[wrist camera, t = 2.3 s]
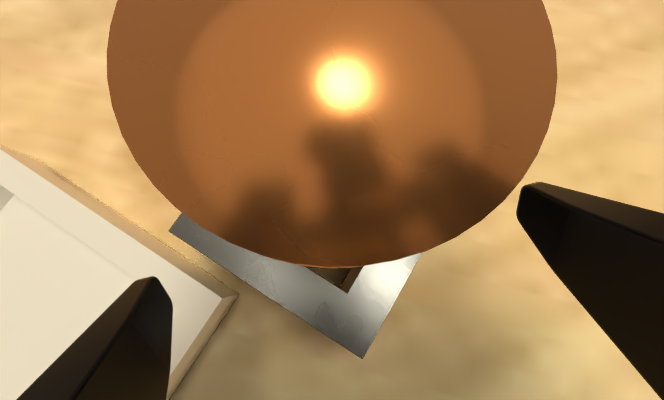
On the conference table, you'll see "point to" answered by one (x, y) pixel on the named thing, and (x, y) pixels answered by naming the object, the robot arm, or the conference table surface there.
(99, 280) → the tray
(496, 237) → the conference table surface
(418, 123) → the hitch pin
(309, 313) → the block
